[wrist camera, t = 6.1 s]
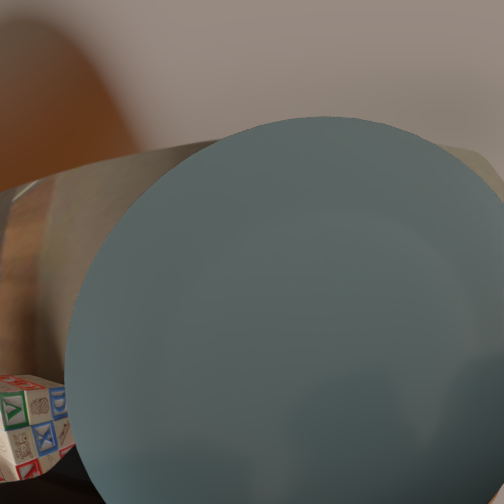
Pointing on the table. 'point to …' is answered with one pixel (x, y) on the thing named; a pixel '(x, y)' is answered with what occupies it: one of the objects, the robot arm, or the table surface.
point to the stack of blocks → (32, 426)
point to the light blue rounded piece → (296, 327)
